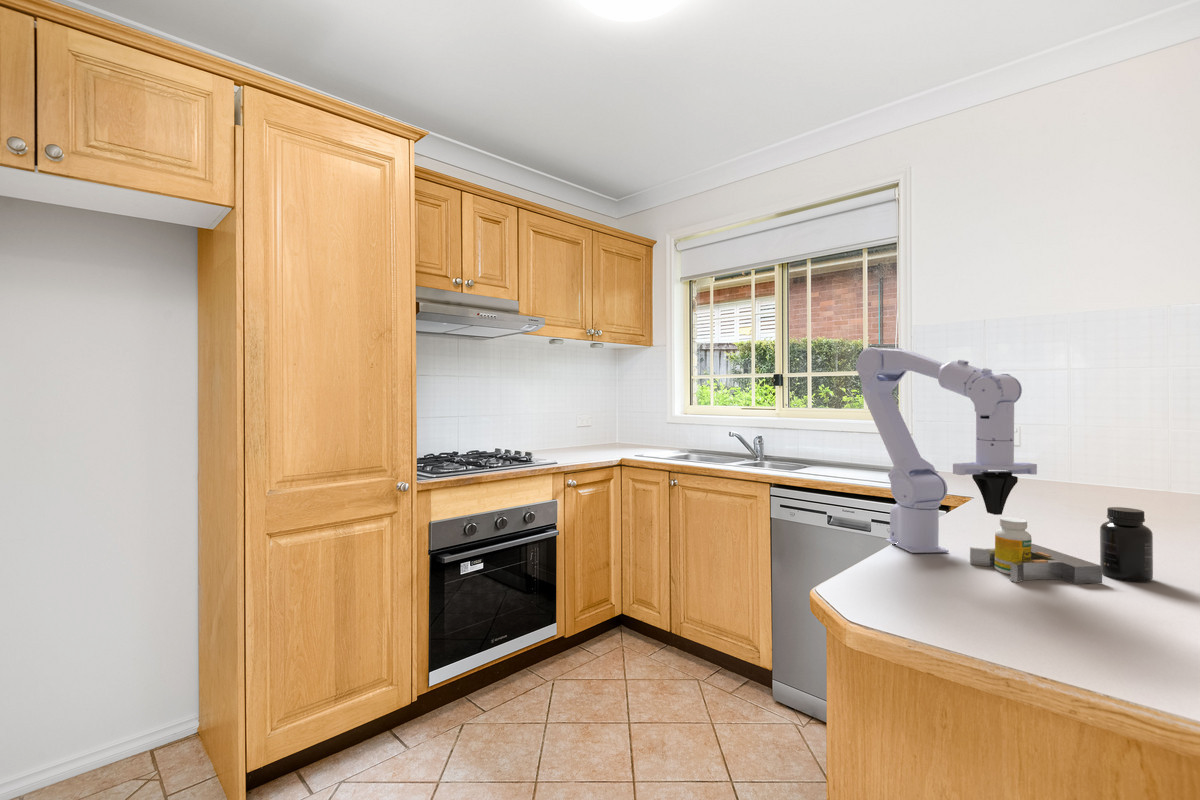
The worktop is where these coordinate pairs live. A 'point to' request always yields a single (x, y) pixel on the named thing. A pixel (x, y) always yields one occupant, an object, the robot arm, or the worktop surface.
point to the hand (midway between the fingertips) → (994, 513)
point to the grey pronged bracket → (1044, 566)
